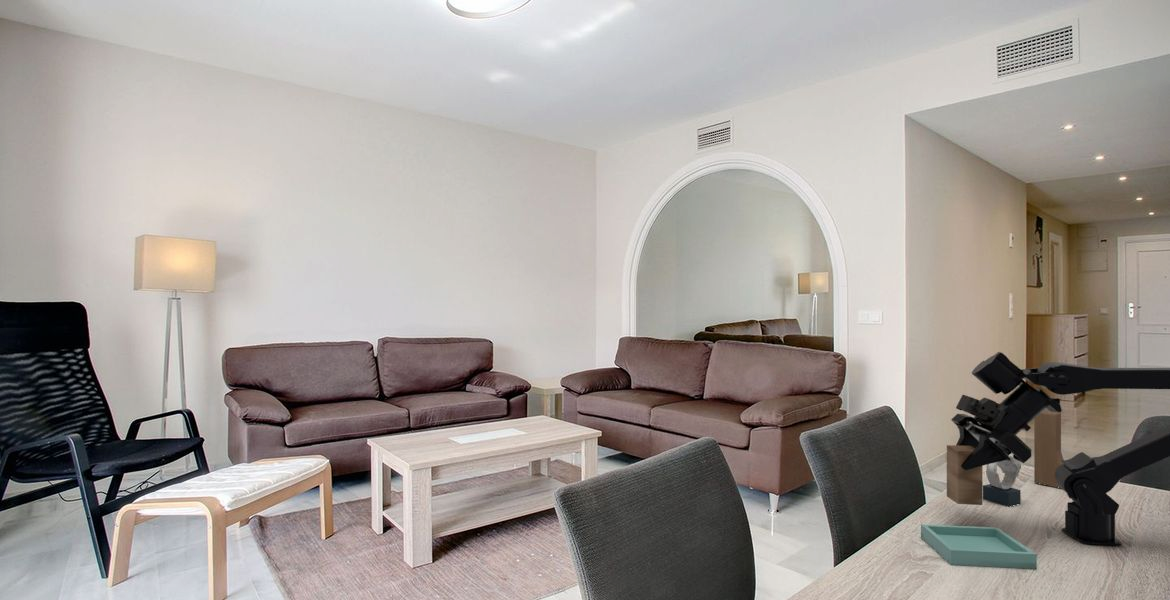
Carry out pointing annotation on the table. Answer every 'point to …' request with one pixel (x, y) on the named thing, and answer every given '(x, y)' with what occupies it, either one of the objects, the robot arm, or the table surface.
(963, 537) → the tray
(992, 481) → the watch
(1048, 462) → the wooden block
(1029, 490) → the table surface
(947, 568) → the table surface
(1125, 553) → the table surface
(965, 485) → the tall brown wood pillar
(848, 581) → the table surface
